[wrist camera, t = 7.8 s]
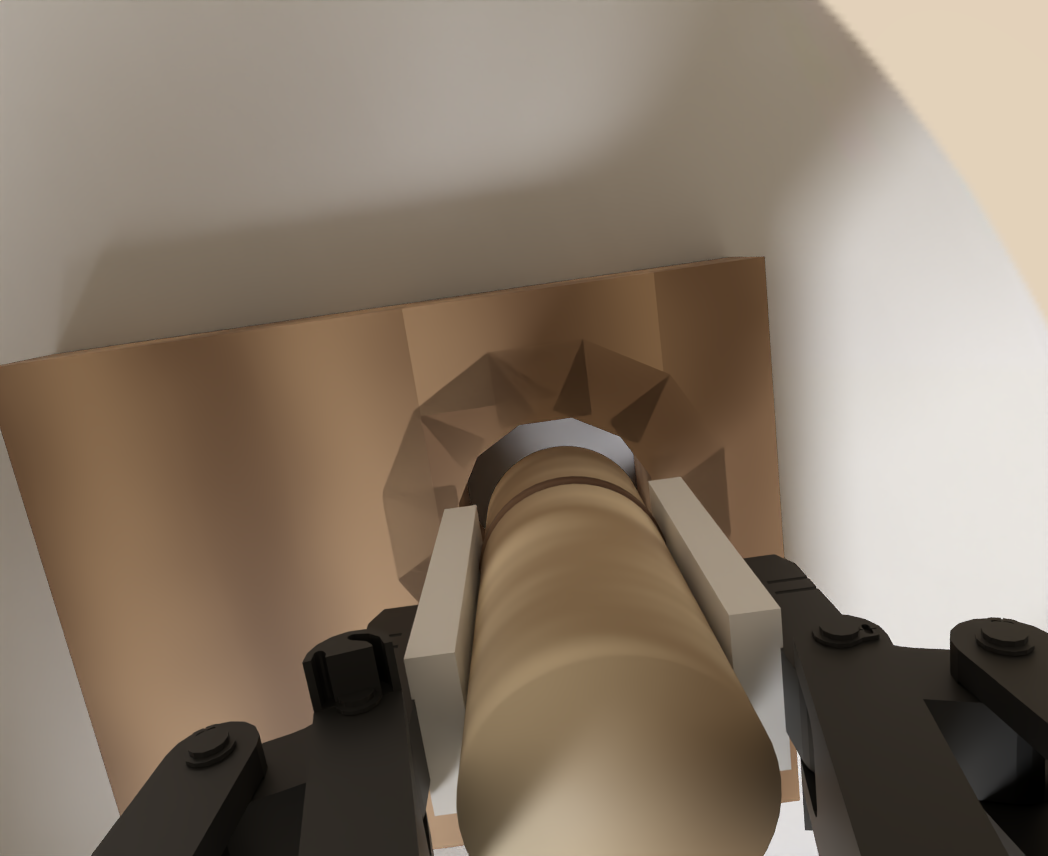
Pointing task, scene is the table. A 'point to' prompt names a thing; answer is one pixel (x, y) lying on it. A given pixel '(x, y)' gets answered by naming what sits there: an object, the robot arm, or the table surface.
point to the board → (351, 475)
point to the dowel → (601, 685)
